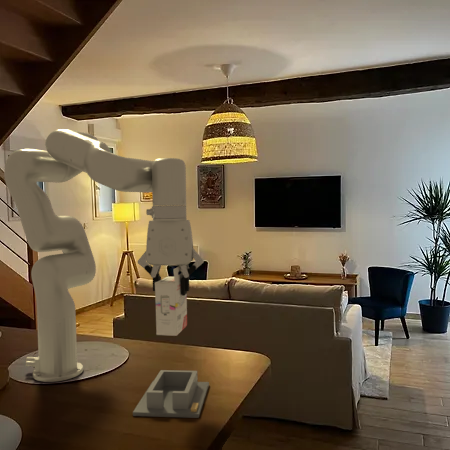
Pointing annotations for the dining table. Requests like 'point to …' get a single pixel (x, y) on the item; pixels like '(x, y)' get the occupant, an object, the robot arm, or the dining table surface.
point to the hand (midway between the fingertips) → (171, 293)
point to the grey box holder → (173, 395)
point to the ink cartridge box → (170, 305)
